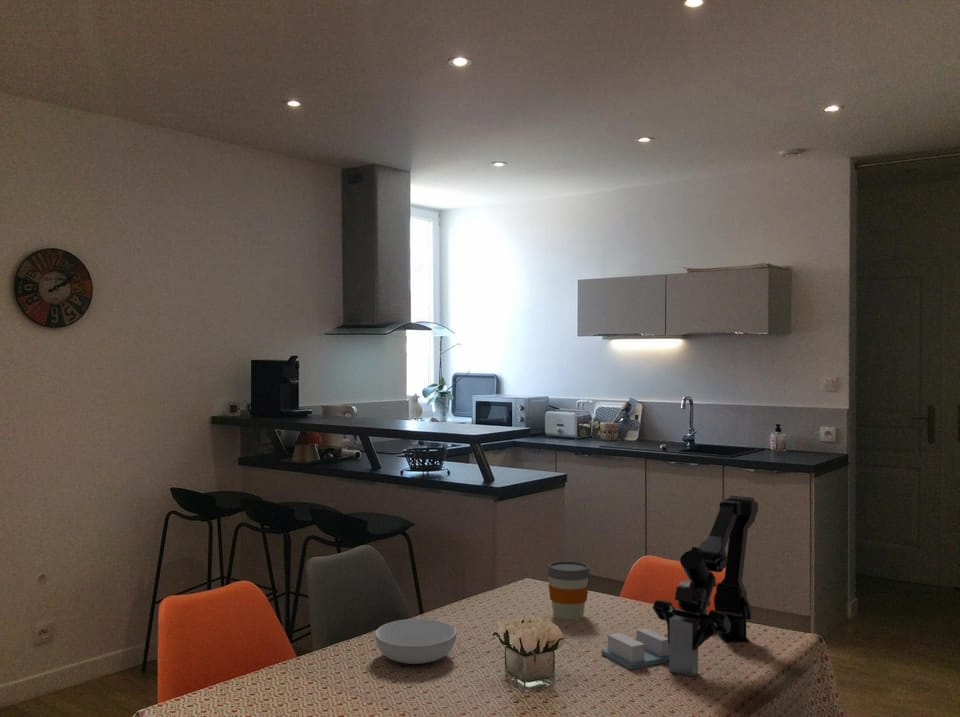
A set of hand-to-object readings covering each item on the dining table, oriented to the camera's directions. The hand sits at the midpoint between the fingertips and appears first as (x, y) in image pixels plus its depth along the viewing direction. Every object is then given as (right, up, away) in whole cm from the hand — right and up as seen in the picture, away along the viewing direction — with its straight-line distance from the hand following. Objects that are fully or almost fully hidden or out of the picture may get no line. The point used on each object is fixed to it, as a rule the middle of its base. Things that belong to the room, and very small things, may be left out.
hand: (681, 646), depth 202 cm
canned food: (+14, -7, +43) cm, 45 cm away
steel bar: (+1, -7, +1) cm, 7 cm away
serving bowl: (-66, -7, +10) cm, 67 cm away
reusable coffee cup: (-23, -7, +47) cm, 52 cm away
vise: (-6, -7, +13) cm, 16 cm away
